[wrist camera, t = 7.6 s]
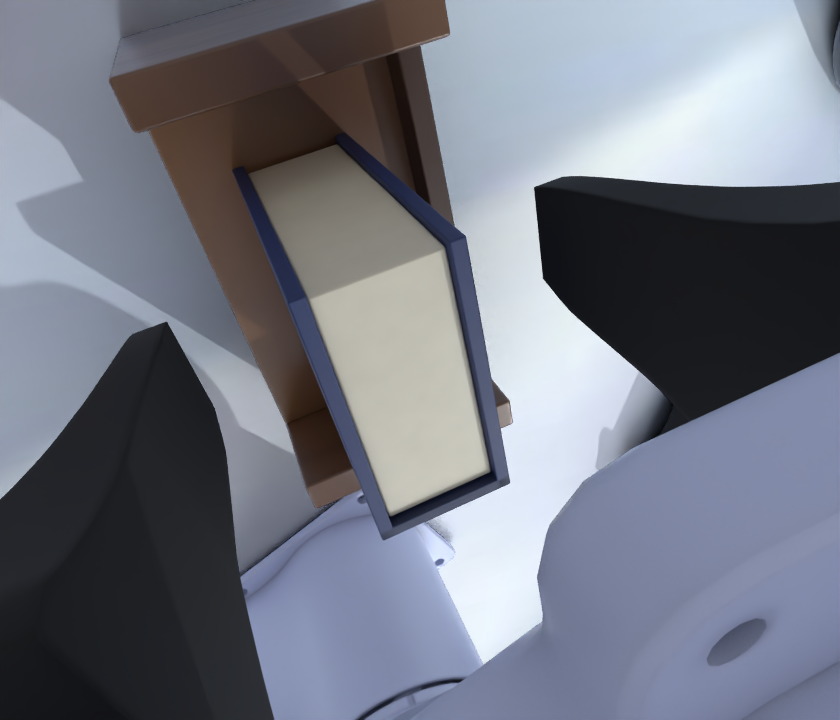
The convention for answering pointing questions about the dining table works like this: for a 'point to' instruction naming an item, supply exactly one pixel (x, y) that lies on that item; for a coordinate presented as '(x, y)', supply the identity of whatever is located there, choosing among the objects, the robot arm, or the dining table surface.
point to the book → (384, 328)
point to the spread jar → (837, 55)
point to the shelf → (285, 154)
